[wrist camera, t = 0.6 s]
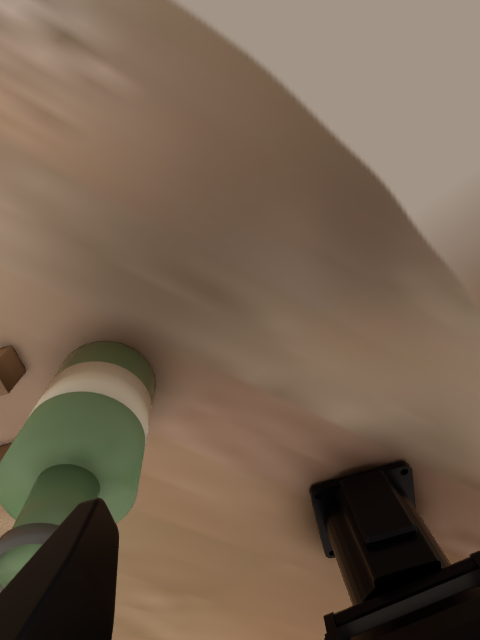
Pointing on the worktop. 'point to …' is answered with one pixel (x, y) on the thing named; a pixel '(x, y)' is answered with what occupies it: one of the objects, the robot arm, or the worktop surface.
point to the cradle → (9, 378)
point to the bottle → (76, 447)
